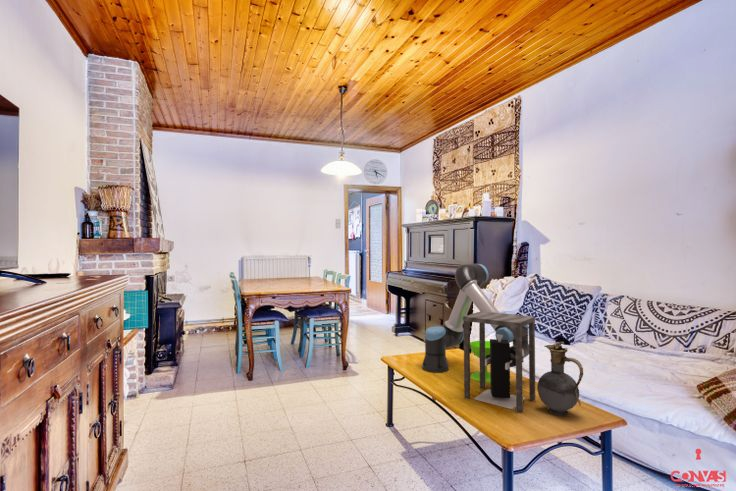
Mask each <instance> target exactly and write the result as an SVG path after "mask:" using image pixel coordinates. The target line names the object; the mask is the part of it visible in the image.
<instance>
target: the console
mask: <svg viewBox="0 0 736 491" xmlns="http://www.w3.org/2000/svg"><path fill="white" fill-rule="evenodd" d="M463 321H464V323H463V334H464V338H463V379H464V380H463V394H464V395H463V397H464V399H467V400H469V399H471V378H470V375H471V351H470V350H471V348H470V342H471V336H470V335H471V333H470V332H471V330H470V326H471V323H478V324H479V326H478V327H479V332H478V333H479V336H478V337H479V340H478V341H480V358H479V372H480V382H479V389H483V390H484V391H482V392H481V393H480V394H478V395H476V396H475V397H474V398H473V400H475V401H479V402H484V403H486V404H490V405H494V406H497V407H502V408H505V409H510V410H515V412H516V413H520V414H522V413H523V412H524V410H523V409H524V408H523V407H524V406H523V404H524V402H523V401H525V400H526V397H525V396H523V393H524V392H523V362H522V327H523V326H525V325H527V324H528V344H529V354H528V377H529V379H528V380H529V382H528V383H529V384H528V385H529V389H528V391H529V394H528V395H529V401H531V402H532V401H533V402H535V401H536V341H535V340H536V332H535V331H536V329H535V328H536V325H535V324H536V316H532V315H523V314H522V315H521V314H512V313H503V312H502V313H501V312H500V313H494V312H485V311H477V312H474V313H470V314H467V315H466V316H463ZM490 324H493V325H501V326H509V327H516V366H515V394H512V393H510V398H498V397H492V394H491V388H490V389H489V388H487V389H486V383H485V341H486V325H490ZM485 389H486V390H485ZM515 408H516V409H515Z"/></svg>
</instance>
